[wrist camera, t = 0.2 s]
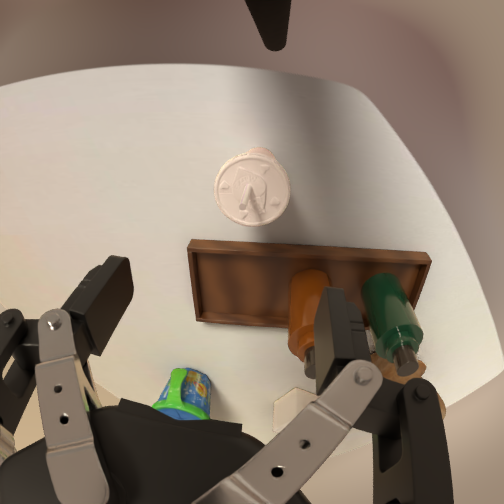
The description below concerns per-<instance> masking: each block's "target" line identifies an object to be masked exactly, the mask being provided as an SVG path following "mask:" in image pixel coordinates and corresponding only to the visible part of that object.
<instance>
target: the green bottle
mask: <svg viewBox="0 0 504 504" xmlns="http://www.w3.org/2000/svg"><path fill="white" fill-rule="evenodd" d="M360 295H361V299H362V303H363V306H364V310H365V313H366V317H367V321H368V324H369V328H370V332H371V336H372V339H373V343H374V347H375V351H376V353H377V355H378V356H379V357H381V358H383V359H387V360H388V361H389V362H390V363H394V365H395V369H396V372H397V375H398V376H401V377H405V376H409V375H411V374H413V373H415V372H416V371H417V370H418V368H419V363H418V360H417V357H416V354H417V352H418V350H419V345H420V344H421V342H422V339H423V331H422V329H421V326H420V324H419V322H418V319H417V317H416V315H415V313H414V310H413V308H412V306H411V304H410V301H409V299H408V297H407V295H406V293H405V291H404V288H403V286H402V284H401V282H400V280H399V279H398V277H397V276H395V275H394V274H391V273H379V274H376V275H374V276H372V277H370V278H369V279H368V280H367V281H366V282H365V283H364V284H363V286H362V288H361V293H360Z"/></svg>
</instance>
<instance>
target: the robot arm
mask: <svg viewBox="0 0 504 504" xmlns="http://www.w3.org/2000/svg"><path fill="white" fill-rule="evenodd" d="M133 292H134V286H133V280H132V274H131V268H130V262H129V259H128V258H126V257H120V256H114V255H111V256H109V257H108V259H107V260H106V261H105V262H104V264H103V265H98V266H97V267H95V268H94V269H92V270H90V271H89V272H88V274H87V275H86V276H85V277H84V279H83V281H81V282H80V284H79V285H78V287H77V288H76V289H75V290H74V291H73V293H72V294H71V295H70V297H69V298H68V299H67V301H66V302H65V303H64V305H63V306H62V307H61V309H52V310H50V311H47V312H46V313H44V314H43V315H42V316H41V318H40V319H24V317H23V315H22V313H21V311H20V310H18V309H8V310H6V311H4V312H2V313H1V314H0V504H311V503H310V501H309V500H308V499H307V498H306V496H305V495H304V494H303V493H302V491H301V490H300V488H301V487H302V486H303V485H304V484H305V483H306V482H307V481H308V480H309V478H311V476H312V475H313V474H314V473H315V472H316V471H317V470H318V469H319V467H320V466H321V465H322V464H323V463H324V462H325V461H326V459H327V458H328V457H329V456H330V455H331V453H332V452H333V451H334V450H335V449H336V447H337V446H338V445H339V444H340V442H341V441H342V440H343V439H344V437H345V436H346V435H347V433H348V432H349V431H350V429H351V428H352V427H353V428H356V429H359V430H362V431H366V432H369V433H372V441H373V504H454V500H453V487H452V478H451V469H450V461H449V453H448V447H447V440H446V435H445V429H444V424H443V418H442V413H441V408H440V403H439V399H438V394H437V391H436V389H435V387H434V386H433V385H432V384H431V383H430V382H429V381H427V380H425V379H423V378H412V379H410V380H409V381H407V382H406V384H401V383H398V382H395V381H392V380H389V379H386V378H384V377H383V376H382V373H381V371H380V370H379V368H378V367H377V366H376V365H374V364H373V363H372V361H371V356H370V351H369V346H368V342H367V337H366V332H365V328H364V324H363V319H362V314H361V311H360V310H359V309H358V307H357V306H356V305H355V303H354V302H346V298H345V293H344V289H343V288H335V287H327V286H325V287H324V288H323V291H322V295H321V298H320V301H319V305H318V308H317V311H316V315H315V319H314V345H315V367H316V396H319V397H318V398H317V399H316V400H315V401H311V402H310V403H309V404H308V405H307V406H306V407H305V408H304V409H303V410H302V411H301V412H300V413H299V414H298V415H297V416H296V417H295V418H294V419H293V420H292V421H291V422H290V423H289V424H288V425H287V426H286V427H285V428H284V429H283V430H282V431H280V432H279V433H278V434H277V435H276V436H275V437H274V438H273V439H272V440H271V441H270V442H269V443H268V444H267V445H264V444H263V443H262V442H261V441H259V440H258V439H256V438H255V437H253V436H251V435H249V434H246V433H244V432H241V431H242V424H238V423H231V422H225V421H219V420H213V419H202V420H177V419H174V418H172V417H170V416H168V415H166V414H164V413H162V412H160V411H158V410H156V409H154V408H152V407H150V406H148V405H144V404H141V403H137V402H134V401H130V400H127V399H123V398H121V400H120V402H119V405H115V406H105V407H102V405H101V403H100V400H99V398H98V394H97V391H96V387H95V384H94V380H93V376H92V372H91V368H90V364H89V361H88V357H89V356H90V354H94V355H97V356H101V354H102V352H103V350H104V348H105V347H106V345H107V343H108V341H109V339H110V337H111V336H112V334H113V332H114V330H115V328H116V326H117V325H118V323H119V321H120V319H121V318H122V316H123V314H124V312H125V311H126V309H127V307H128V305H129V304H130V302H131V300H132V297H133ZM11 356H13V358H14V359H15V360H14V362H13V364H12V365H11V367H10V369H9V371H8V372H7V374H6V376H5V378H4V380H3V378H2V372H3V369H4V367H5V366H6V364H7V362H8V361H9V359H10V357H11ZM36 385H37V393H38V400H39V407H40V413H41V419H42V424H43V430H44V435H45V437H44V438H42V439H40V440H38V441H37V442H35V443H33V444H31V445H29V446H27V447H26V448H23V449H21V450H20V451H18V452H17V451H16V449H15V447H14V446H15V442H14V438H13V436H14V433H15V431H16V428H17V426H18V424H19V421H20V419H21V417H22V415H23V412H24V410H25V408H26V406H27V404H28V402H29V399H30V397H31V395H32V393H33V391H34V389H35V387H36Z"/></svg>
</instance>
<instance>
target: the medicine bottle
mask: <svg viewBox="0 0 504 504" xmlns="http://www.w3.org/2000/svg"><path fill="white" fill-rule="evenodd" d="M318 397H319V396H316V395H315V394H312V393H310V392H307V391H304V390H302V389H299V388H297V387H295V388H294V389H292V390H291V391H290V392H288V393H287V394H285V395H284V396H283V397H281V398H280V399H278V400H277V401H275V402H274V414H273V432H275V433H279V432H280V431H282V430H283V429H284V428H285V427H286V426H287V425H288V424H289V423H290V422H291V421H292V420H293V419H294V418H295V417H296V416H297V415H298V414H299V413H300V412H301V411H302V410H303V409H304V408H305V407H306V406H307V405H308V404H309V403H310V402H311V401H315V400H316V399H317V398H318Z"/></svg>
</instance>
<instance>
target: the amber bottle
mask: <svg viewBox="0 0 504 504" xmlns="http://www.w3.org/2000/svg"><path fill="white" fill-rule="evenodd" d="M325 286H327V287H333V283H332V280H331V278H330V277H329V276H328V275H327V274H326V273H324V272H322V271H320V270H316V269H308V270H303V271H301V272H299V273H297V274H296V275H294V276H293V277H292V279H291V280H290V282H289V284H288V347H289V349H290V351H291V352H292V353H293V354H294V355H295V356H297V357H298V358H299V359H300V360H301V361H302V362H304V370H305V375H306V376H307V377H308V378H311V379H316V367H315V345H314V319H315V315H316V311H317V308H318V305H319V301H320V298H321V295H322V291H323V288H324V287H325Z"/></svg>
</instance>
